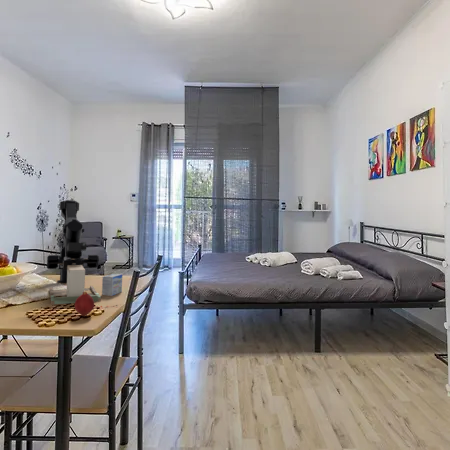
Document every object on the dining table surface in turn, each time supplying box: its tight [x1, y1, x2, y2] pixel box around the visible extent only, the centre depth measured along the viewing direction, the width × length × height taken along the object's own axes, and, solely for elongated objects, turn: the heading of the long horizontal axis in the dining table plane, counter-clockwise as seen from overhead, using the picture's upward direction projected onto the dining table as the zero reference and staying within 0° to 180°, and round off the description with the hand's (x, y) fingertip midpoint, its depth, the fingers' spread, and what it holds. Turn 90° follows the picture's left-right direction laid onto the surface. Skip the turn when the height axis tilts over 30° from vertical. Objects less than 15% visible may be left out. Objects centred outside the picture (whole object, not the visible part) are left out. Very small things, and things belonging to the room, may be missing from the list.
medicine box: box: [101, 273, 123, 297], centre depth 139 cm, size 8×4×9 cm, turn 168°
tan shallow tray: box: [49, 285, 102, 305], centre depth 132 cm, size 23×16×4 cm
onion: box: [74, 291, 95, 317], centre depth 112 cm, size 6×6×8 cm
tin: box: [66, 265, 86, 297], centre depth 129 cm, size 12×5×11 cm, turn 28°
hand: (74, 279), depth 134 cm, fingers closed, pressing on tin
